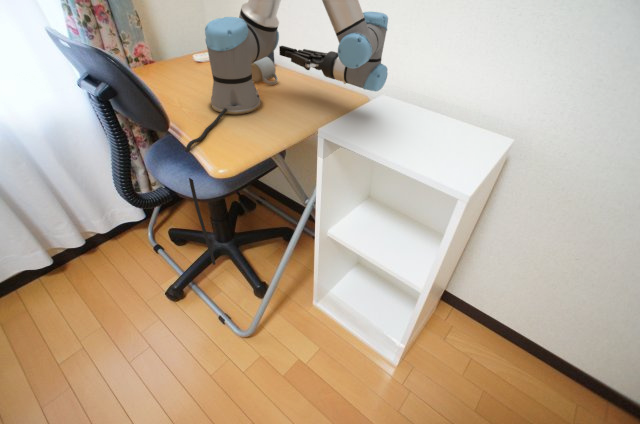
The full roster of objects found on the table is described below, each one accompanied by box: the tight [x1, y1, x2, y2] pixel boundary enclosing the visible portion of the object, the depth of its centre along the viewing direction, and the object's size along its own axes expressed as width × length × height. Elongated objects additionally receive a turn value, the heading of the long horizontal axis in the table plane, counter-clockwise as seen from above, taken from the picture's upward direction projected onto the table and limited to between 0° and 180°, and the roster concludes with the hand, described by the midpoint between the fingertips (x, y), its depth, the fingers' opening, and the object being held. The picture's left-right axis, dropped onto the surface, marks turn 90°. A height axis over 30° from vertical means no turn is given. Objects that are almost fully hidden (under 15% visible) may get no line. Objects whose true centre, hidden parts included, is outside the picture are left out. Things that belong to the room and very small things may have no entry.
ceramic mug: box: [251, 57, 279, 86], centre depth 113 cm, size 11×8×8 cm
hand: (280, 50), depth 105 cm, fingers closed
